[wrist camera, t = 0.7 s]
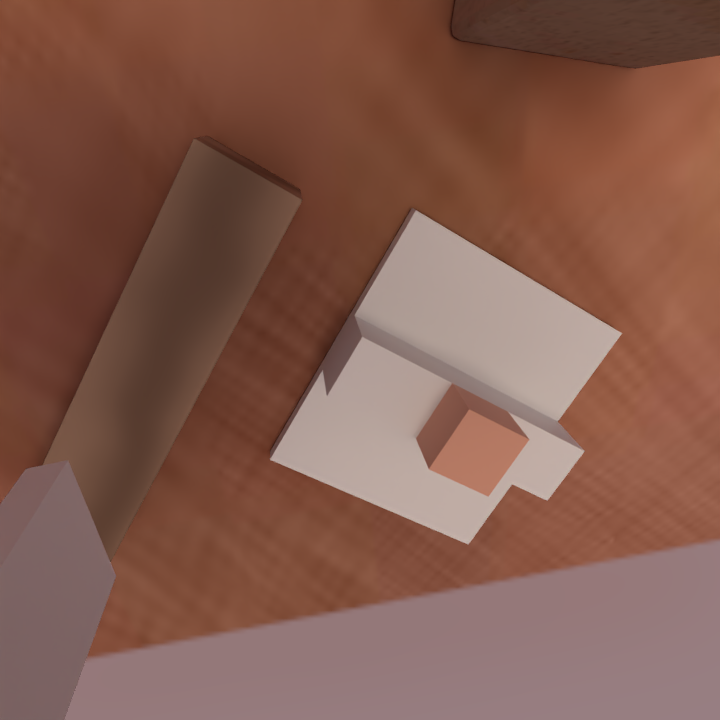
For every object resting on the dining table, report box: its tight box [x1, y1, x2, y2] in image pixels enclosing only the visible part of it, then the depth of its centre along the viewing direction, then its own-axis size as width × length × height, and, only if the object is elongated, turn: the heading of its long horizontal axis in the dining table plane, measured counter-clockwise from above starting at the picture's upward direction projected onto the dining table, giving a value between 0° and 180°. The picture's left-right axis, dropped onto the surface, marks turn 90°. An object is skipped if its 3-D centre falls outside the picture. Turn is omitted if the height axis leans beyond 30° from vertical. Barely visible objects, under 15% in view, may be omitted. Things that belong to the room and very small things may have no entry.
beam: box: [43, 136, 302, 562], centre depth 31 cm, size 5×22×5 cm, turn 150°
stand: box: [270, 208, 622, 544], centre depth 32 cm, size 14×16×8 cm
